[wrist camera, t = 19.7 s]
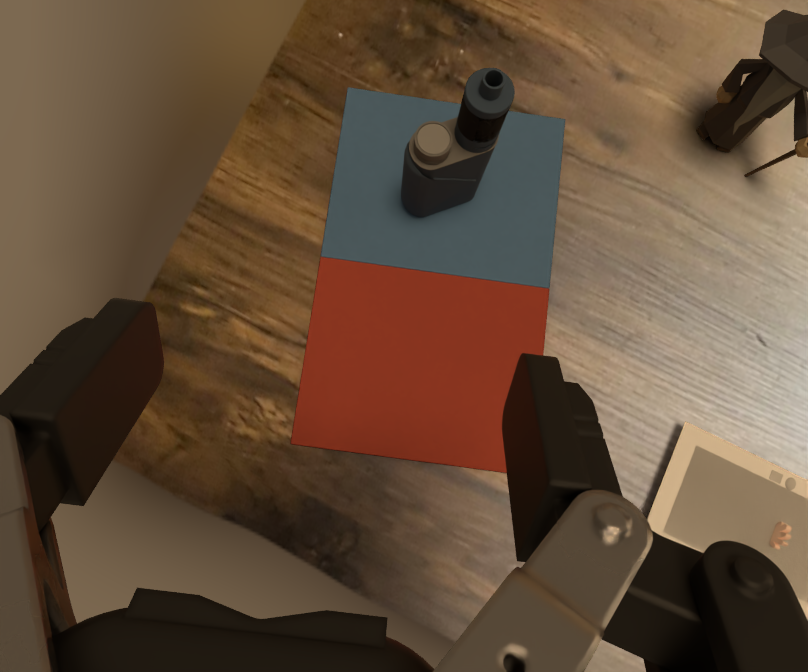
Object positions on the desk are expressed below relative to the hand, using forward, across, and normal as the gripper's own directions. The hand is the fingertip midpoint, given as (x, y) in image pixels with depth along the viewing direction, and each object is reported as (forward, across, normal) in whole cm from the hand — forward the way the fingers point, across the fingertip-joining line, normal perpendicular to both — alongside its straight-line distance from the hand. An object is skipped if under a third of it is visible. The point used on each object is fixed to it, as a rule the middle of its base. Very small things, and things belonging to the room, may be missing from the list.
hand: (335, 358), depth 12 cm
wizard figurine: (+32, -23, +2) cm, 39 cm away
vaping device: (+26, -3, +6) cm, 27 cm away
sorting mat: (+23, -4, +10) cm, 25 cm away
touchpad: (+13, -26, +20) cm, 35 cm away
